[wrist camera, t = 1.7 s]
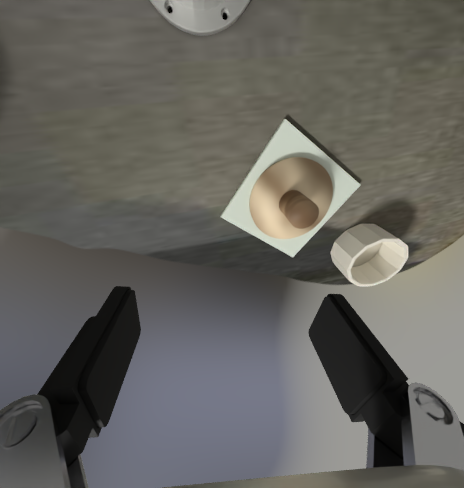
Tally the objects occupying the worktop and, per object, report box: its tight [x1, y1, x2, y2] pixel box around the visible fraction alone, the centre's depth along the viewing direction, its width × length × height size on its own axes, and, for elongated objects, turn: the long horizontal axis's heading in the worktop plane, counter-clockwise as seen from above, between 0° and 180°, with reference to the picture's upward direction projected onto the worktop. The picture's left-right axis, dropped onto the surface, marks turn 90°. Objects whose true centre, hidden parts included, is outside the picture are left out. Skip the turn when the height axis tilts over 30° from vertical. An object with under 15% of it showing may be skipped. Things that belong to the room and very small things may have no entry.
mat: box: [221, 119, 360, 257], centre depth 32 cm, size 16×16×1 cm
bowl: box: [331, 224, 408, 286], centre depth 36 cm, size 10×10×6 cm
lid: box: [249, 157, 333, 239], centre depth 29 cm, size 13×13×6 cm
